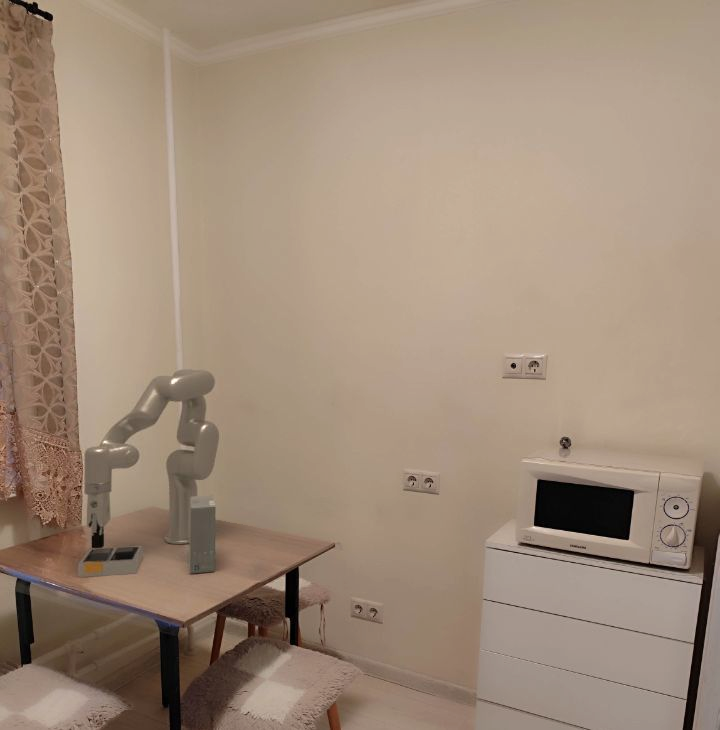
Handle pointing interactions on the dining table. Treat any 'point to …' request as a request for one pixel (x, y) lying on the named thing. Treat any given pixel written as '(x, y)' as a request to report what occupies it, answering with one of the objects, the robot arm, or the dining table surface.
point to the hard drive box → (202, 534)
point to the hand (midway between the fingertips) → (97, 547)
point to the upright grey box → (101, 554)
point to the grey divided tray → (112, 562)
